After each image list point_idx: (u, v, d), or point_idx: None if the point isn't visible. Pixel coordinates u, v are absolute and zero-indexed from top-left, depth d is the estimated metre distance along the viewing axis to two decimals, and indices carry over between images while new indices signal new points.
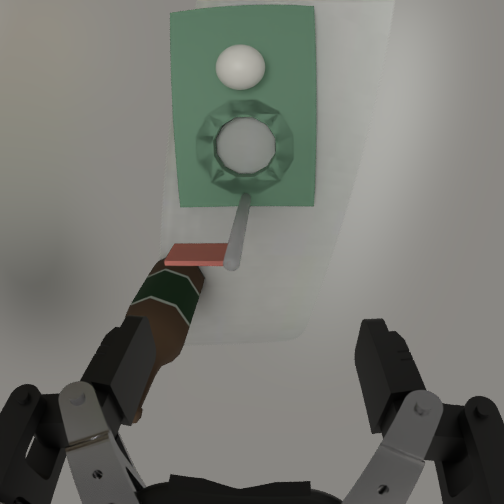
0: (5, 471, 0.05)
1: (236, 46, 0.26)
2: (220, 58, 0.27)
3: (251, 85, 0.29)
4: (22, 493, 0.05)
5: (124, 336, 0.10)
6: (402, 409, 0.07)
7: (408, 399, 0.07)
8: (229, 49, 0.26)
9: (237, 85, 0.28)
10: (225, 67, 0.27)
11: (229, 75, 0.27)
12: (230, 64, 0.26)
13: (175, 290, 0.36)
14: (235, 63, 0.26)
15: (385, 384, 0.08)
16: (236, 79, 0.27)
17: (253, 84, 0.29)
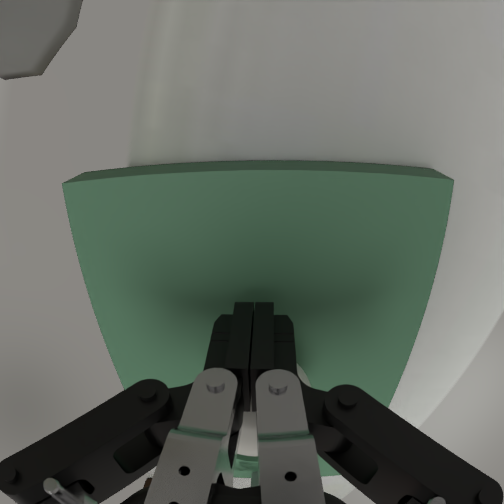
0: (81, 457, 0.06)
1: (246, 420, 0.10)
2: None
3: None
4: (89, 478, 0.06)
5: (242, 321, 0.11)
6: (259, 396, 0.08)
7: (259, 384, 0.08)
8: None
9: None
10: None
11: None
12: None
13: None
14: (247, 455, 0.11)
15: (250, 361, 0.09)
16: None
17: None
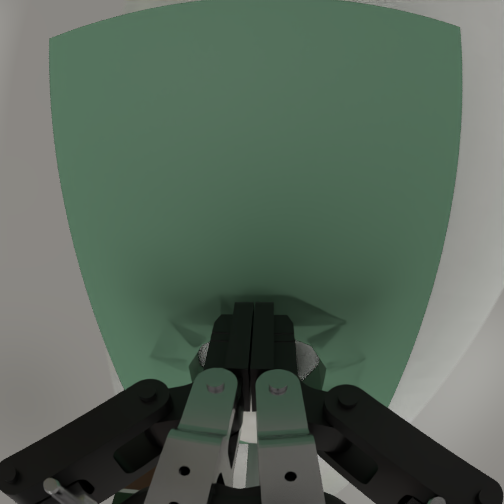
0: (81, 457, 0.06)
1: None
2: None
3: None
4: (90, 478, 0.06)
5: (242, 321, 0.11)
6: (259, 396, 0.08)
7: (259, 384, 0.08)
8: None
9: None
10: None
11: None
12: None
13: None
14: None
15: (251, 361, 0.09)
16: None
17: None
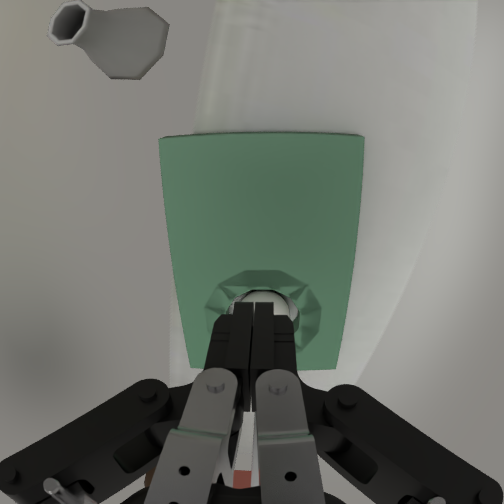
0: (81, 457, 0.06)
1: None
2: None
3: (275, 294, 0.29)
4: (90, 478, 0.06)
5: (242, 321, 0.11)
6: (259, 396, 0.08)
7: (259, 385, 0.08)
8: None
9: (260, 290, 0.30)
10: None
11: None
12: None
13: None
14: None
15: (250, 361, 0.09)
16: None
17: (277, 295, 0.29)
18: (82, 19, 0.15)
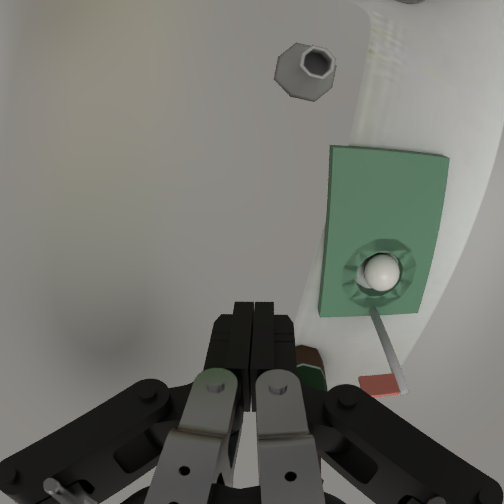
0: (81, 457, 0.06)
1: None
2: None
3: None
4: (90, 478, 0.06)
5: (241, 321, 0.11)
6: (259, 396, 0.08)
7: (259, 385, 0.08)
8: None
9: (380, 254, 0.41)
10: None
11: None
12: None
13: (318, 384, 0.44)
14: None
15: (251, 361, 0.09)
16: None
17: (391, 257, 0.41)
18: None
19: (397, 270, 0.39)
